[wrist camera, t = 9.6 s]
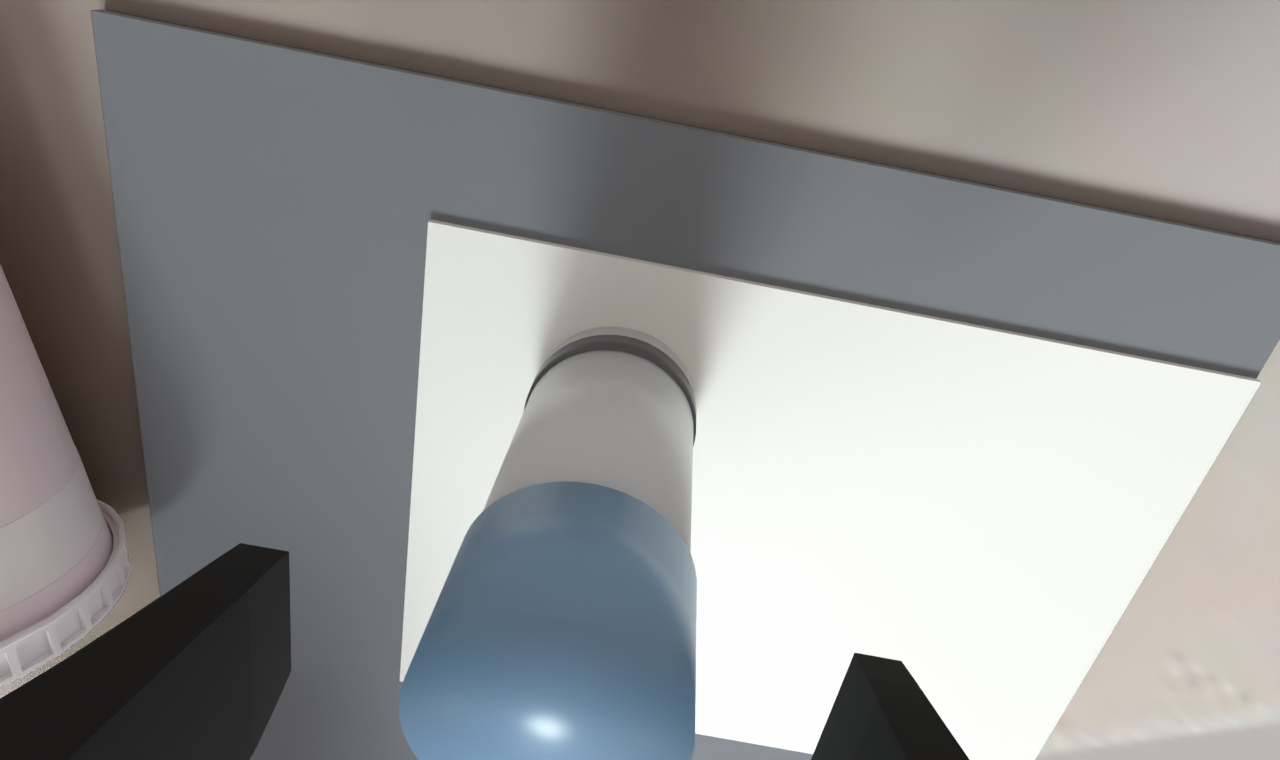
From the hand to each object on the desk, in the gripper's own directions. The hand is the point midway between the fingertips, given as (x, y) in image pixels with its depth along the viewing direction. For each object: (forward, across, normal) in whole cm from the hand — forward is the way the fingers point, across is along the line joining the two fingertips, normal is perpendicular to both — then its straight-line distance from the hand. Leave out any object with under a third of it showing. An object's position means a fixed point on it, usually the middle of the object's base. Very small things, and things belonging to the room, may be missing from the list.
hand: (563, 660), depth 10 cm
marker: (+7, 0, 0) cm, 7 cm away
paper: (+7, -4, +3) cm, 9 cm away
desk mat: (+7, -1, +5) cm, 9 cm away
